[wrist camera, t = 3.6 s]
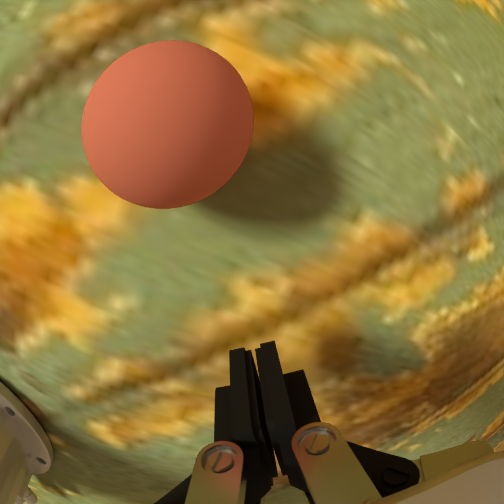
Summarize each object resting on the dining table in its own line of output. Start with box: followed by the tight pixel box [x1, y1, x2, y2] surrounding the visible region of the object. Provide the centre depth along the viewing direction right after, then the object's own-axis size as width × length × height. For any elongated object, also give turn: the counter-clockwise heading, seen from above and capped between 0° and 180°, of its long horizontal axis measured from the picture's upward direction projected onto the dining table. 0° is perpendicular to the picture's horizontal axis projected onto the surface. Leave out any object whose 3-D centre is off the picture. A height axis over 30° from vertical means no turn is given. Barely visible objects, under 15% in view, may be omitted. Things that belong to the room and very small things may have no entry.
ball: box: [81, 40, 254, 209], centre depth 9 cm, size 6×6×6 cm
